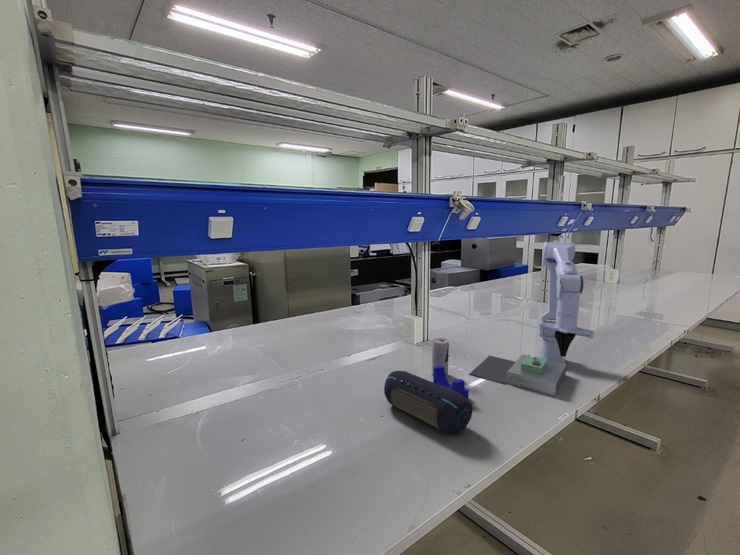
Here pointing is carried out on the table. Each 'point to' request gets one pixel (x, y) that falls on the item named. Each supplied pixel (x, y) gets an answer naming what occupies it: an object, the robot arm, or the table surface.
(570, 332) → the robot arm
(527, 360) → the thick sage green slab
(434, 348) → the energy drink
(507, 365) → the mat
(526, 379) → the deck
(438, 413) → the portable speaker
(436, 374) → the cable clip
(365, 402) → the table surface
